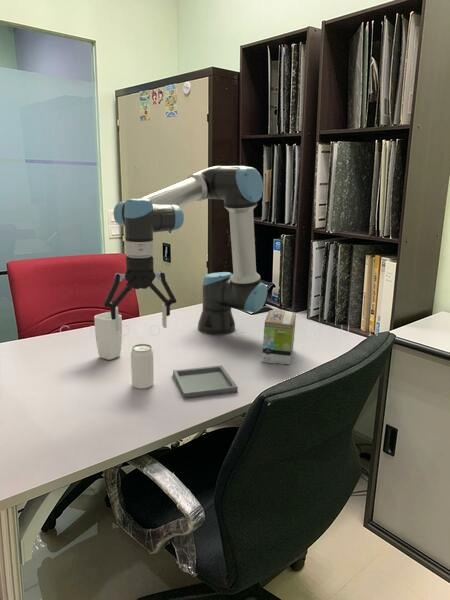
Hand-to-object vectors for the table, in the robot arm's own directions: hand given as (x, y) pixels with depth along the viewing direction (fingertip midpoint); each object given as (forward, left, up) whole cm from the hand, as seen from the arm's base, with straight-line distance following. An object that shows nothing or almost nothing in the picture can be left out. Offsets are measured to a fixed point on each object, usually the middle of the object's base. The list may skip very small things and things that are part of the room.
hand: (141, 328), depth 134 cm
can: (0, 0, -18) cm, 18 cm away
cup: (-24, -8, -18) cm, 31 cm away
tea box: (-11, +49, -18) cm, 54 cm away
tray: (+4, +18, -18) cm, 26 cm away
